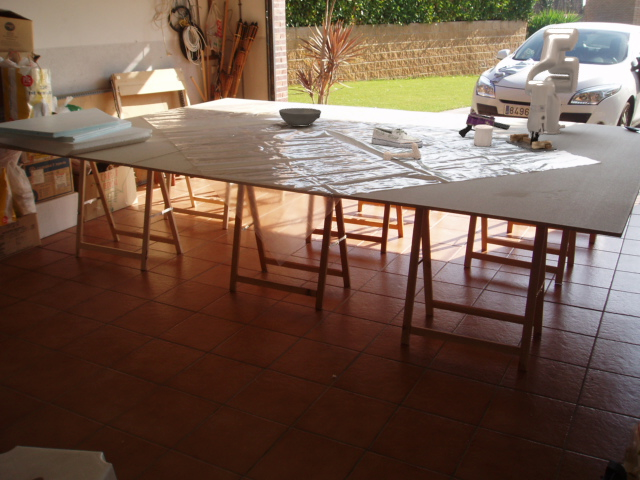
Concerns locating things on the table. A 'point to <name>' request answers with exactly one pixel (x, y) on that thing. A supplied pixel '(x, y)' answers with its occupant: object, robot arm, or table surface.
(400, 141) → the boat shoe
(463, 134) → the toy gun
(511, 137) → the rail
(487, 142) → the cup
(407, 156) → the beige knobbed bar
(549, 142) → the sliding jaw
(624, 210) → the table surface
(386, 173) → the table surface
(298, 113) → the bowl
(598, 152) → the table surface
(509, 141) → the strip
